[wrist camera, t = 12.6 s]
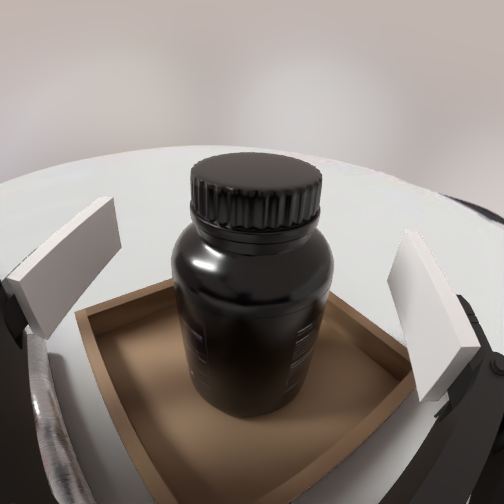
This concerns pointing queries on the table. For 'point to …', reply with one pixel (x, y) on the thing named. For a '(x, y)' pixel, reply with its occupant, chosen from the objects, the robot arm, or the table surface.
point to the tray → (231, 426)
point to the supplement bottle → (251, 279)
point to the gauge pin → (54, 431)
